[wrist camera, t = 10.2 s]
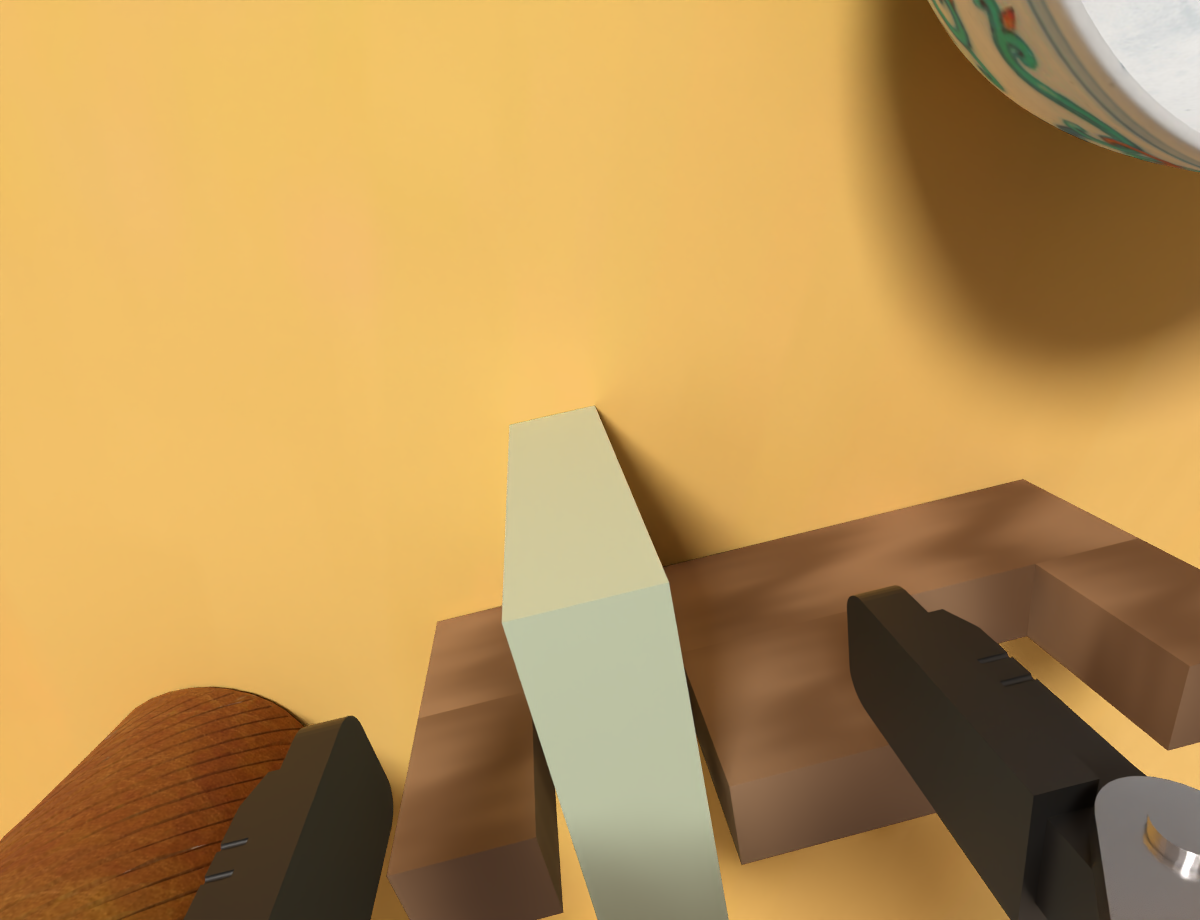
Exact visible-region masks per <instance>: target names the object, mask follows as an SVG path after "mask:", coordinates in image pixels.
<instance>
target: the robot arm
mask: <svg viewBox="0 0 1200 920" xmlns="http://www.w3.org/2000/svg"><path fill="white" fill-rule="evenodd" d="M847 623H848V645H849V666H850V674H851V678H852V682H853V685H854V688H855V691H856V693H857V696H858V698H859V700H860V702H861V704H862V706H863V707H864V709H865V710H866V712H867V713H868V715H869V716H870V718H871V719H872V721H873V722H874V723H875V725H876V726H877V728H878V729H879V731H880V732H881V734H882V735H883V736H884V738H885V739H886V741H887V742H888V744H889V745H890V747H891V748H892V749H893V751H894V752H895V754H896V755H897V757H898V758H899V759H900V761H901V762H902V764H903V765H904V767H905V768H906V770H907V771H908V772H909V774H910V775H911V777H912V778H913V780H914V781H915V783H916V784H917V785H918V787H919V788H920V790H921V791H922V793H923V794H924V796H925V797H926V798H927V800H928V801H929V803H930V804H931V806H932V807H933V809H934V810H935V811H936V813H937V814H938V816H939V817H940V819H941V820H942V821H943V823H944V824H945V826H946V827H947V829H948V830H949V832H950V833H951V834H952V836H953V837H954V839H955V840H956V842H957V843H958V845H959V846H960V847H961V849H962V850H963V852H964V853H965V855H966V856H967V858H968V859H969V860H970V862H971V863H972V865H973V866H974V868H975V869H976V871H977V872H978V873H979V875H980V876H981V878H982V879H983V881H984V882H985V884H986V885H987V886H988V888H989V889H990V891H991V892H992V894H993V895H994V896H995V898H996V899H997V901H998V902H999V904H1000V905H1001V907H1002V908H1003V909H1004V911H1005V912H1006V914H1007V915H1008V917H1009V918H1010V920H1200V791H1199V790H1197V789H1194V788H1192V787H1189V786H1187V785H1184V784H1181V783H1177V782H1174V781H1171V780H1167V779H1161V778H1156V777H1147V776H1146V775H1145V774H1144V773H1142V772H1141V771H1140V770H1139V769H1137V768H1136V767H1135V766H1134V765H1133V764H1131V763H1130V762H1129V761H1128V760H1127V759H1126V758H1125V757H1124V756H1123V755H1121V754H1120V753H1119V752H1118V751H1117V750H1116V749H1115V748H1114V747H1112V746H1111V745H1110V744H1109V743H1108V742H1107V741H1106V740H1105V739H1104V738H1102V737H1101V736H1100V735H1099V734H1098V733H1097V732H1096V731H1095V730H1093V729H1092V728H1091V727H1090V726H1089V725H1088V724H1087V723H1086V722H1085V721H1083V720H1082V719H1081V718H1080V717H1079V716H1078V715H1077V714H1076V713H1074V712H1073V711H1072V710H1071V709H1070V708H1069V707H1068V706H1067V705H1066V704H1064V703H1063V702H1062V701H1061V700H1060V699H1059V698H1058V697H1057V696H1055V695H1054V694H1053V693H1052V692H1051V691H1050V690H1049V689H1048V688H1047V687H1045V686H1044V685H1043V684H1042V683H1041V682H1040V681H1039V680H1038V679H1036V680H1034V679H1033V678H1032V676H1031V673H1030V672H1029V671H1028V670H1026V669H1025V668H1024V667H1023V666H1022V665H1021V664H1020V663H1019V662H1017V661H1016V660H1015V659H1014V658H1013V657H1011V658H1009V656H1008V655H1007V652H1006V651H1005V650H1004V649H1003V648H1002V647H1001V646H1000V645H998V644H997V643H996V642H995V641H994V640H993V639H992V638H991V637H990V636H988V635H987V634H986V633H985V632H984V631H983V630H982V629H981V628H979V627H978V626H976V625H974V624H972V623H970V622H968V621H966V620H964V619H962V618H960V617H958V616H956V615H954V614H952V613H950V612H948V611H946V610H944V609H940V610H936V611H932V612H927V611H926V610H925V609H924V608H923V607H922V606H921V605H920V604H919V603H918V602H917V601H916V600H915V599H914V598H913V597H912V596H911V595H910V594H909V593H908V592H907V591H906V590H905V589H903V588H902V587H900V586H897V585H893V586H889V587H885V588H881V589H877V590H873V591H869V592H865V593H860V594H856V595H852V596H850V597H849V598H848V601H847ZM392 819H393V798H392V792H391V787H390V784H389V781H388V779H387V777H386V774H385V772H384V770H383V768H382V766H381V764H380V762H379V760H378V758H377V756H376V754H375V752H374V750H373V748H372V746H371V744H370V742H369V740H368V738H367V736H366V734H365V732H364V729H363V727H362V725H361V724H360V722H359V721H358V719H357V718H355V717H354V716H347V717H343V718H339V719H335V720H331V721H327V722H323V723H319V724H314V725H310V726H306V727H303V728H301V729H300V730H299V731H298V732H297V734H296V735H295V737H294V739H293V741H292V743H291V746H290V748H289V750H288V752H287V754H286V757H285V759H284V761H283V763H282V765H281V768H280V769H279V770H275V771H271V772H268V773H267V774H266V775H265V777H264V778H263V779H262V780H261V781H260V783H259V784H258V785H257V786H256V787H255V788H254V790H253V791H252V792H251V793H250V794H249V796H248V797H247V798H246V799H245V800H244V802H243V803H242V804H241V805H240V806H239V808H238V810H237V812H236V814H235V816H234V818H233V820H232V822H231V824H230V826H229V828H228V830H227V832H226V834H225V836H224V838H223V840H222V842H221V844H220V845H221V850H220V852H216V854H215V856H214V859H213V861H212V863H211V865H210V867H209V869H208V871H207V873H206V875H205V883H204V884H203V885H200V887H199V889H198V891H197V893H196V895H195V897H194V899H193V901H192V903H191V905H190V907H189V909H188V911H187V913H186V915H185V917H184V919H183V920H370V919H371V915H372V910H373V906H374V901H375V897H376V893H377V888H378V884H379V879H380V875H381V870H382V866H383V862H384V857H385V853H386V848H387V844H388V839H389V835H390V831H391V826H392Z"/></svg>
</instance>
